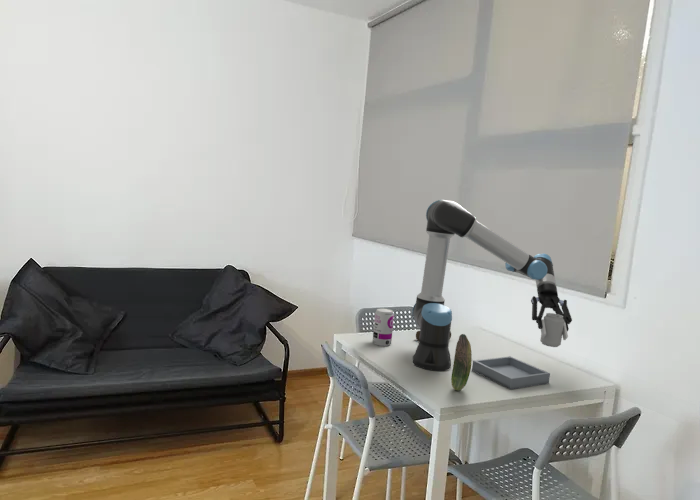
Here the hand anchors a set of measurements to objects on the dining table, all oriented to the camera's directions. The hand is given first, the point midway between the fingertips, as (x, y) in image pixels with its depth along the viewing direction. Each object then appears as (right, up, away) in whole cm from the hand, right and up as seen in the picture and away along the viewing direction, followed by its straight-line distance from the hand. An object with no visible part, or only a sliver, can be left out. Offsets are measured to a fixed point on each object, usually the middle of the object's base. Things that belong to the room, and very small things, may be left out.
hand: (554, 337), depth 197 cm
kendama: (-39, -9, +45) cm, 60 cm away
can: (0, -4, +4) cm, 6 cm away
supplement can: (-64, -8, +31) cm, 71 cm away
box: (-17, -15, +1) cm, 23 cm away
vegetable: (-40, -16, -17) cm, 46 cm away
